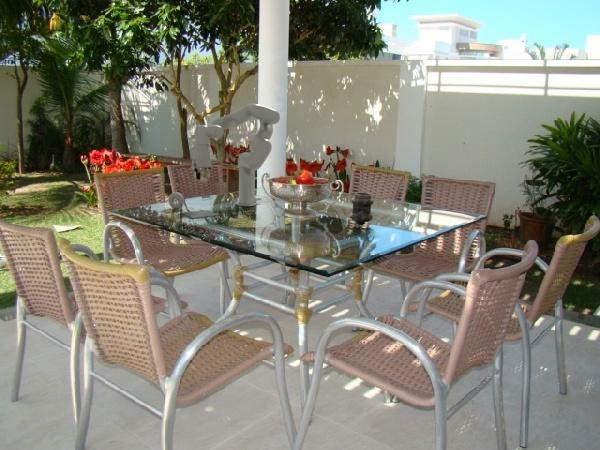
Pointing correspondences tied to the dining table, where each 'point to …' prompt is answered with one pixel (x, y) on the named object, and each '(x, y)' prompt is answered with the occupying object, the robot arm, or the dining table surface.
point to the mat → (199, 214)
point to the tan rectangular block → (203, 175)
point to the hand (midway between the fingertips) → (201, 178)
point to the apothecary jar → (361, 208)
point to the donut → (172, 202)
